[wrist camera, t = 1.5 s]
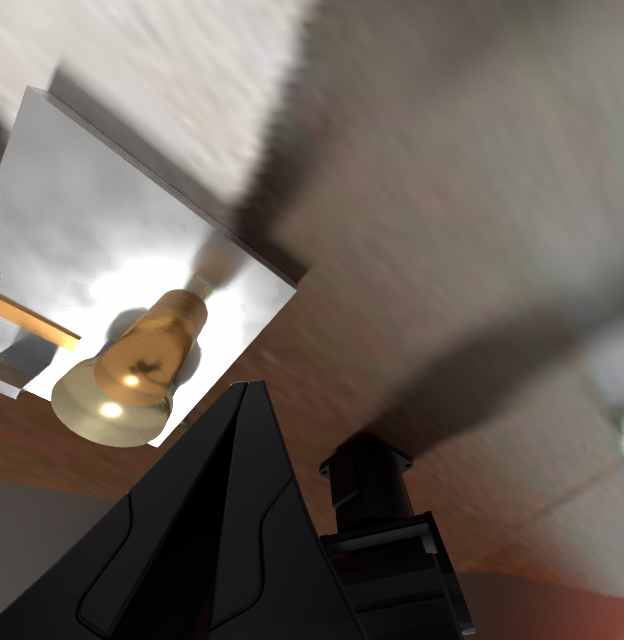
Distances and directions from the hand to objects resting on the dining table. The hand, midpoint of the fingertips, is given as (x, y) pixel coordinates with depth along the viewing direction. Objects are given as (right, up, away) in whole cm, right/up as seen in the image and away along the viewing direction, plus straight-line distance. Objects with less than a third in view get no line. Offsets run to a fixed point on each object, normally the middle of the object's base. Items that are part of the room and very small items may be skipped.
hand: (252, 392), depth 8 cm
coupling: (-8, -1, +10) cm, 13 cm away
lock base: (-11, +2, +11) cm, 16 cm away
